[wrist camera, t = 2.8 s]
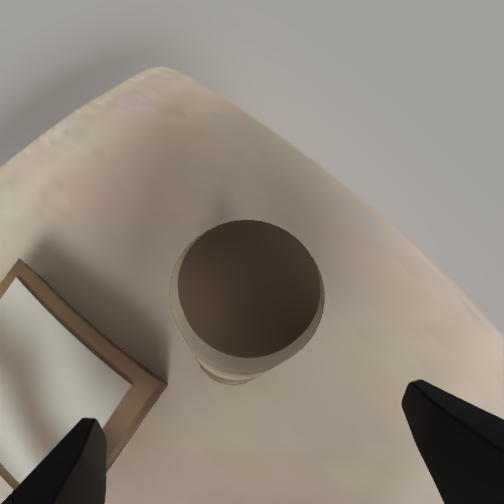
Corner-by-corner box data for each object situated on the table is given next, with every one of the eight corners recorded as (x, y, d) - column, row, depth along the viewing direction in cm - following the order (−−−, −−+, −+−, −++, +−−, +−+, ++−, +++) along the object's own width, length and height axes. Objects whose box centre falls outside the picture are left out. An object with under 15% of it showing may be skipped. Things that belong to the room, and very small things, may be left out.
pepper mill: (244, 398, 18) (280, 399, 7) (181, 358, 18) (133, 303, 8) (282, 337, 19) (355, 261, 9) (221, 300, 20) (226, 187, 10)
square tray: (75, 515, 13) (54, 530, 10) (-37, 395, 14) (-64, 390, 11) (168, 384, 18) (158, 381, 15) (39, 275, 19) (17, 256, 16)
